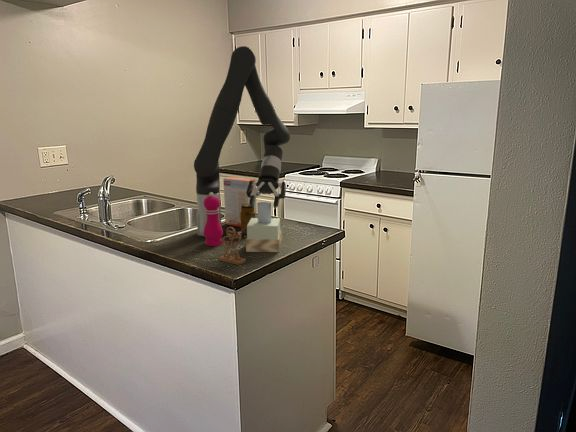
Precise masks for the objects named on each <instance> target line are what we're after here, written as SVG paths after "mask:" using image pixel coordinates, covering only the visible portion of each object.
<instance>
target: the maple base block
mask: <svg viewBox="0 0 576 432" xmlns="http://www.w3.org/2000/svg"><path fill="white" fill-rule="evenodd" d="M282 234H283V231H282V229H280V234H279V237H278V240H270V239H247V237H245V252H247V253H250V252H252V253H253V252H254V253H256V252H257V253H280V251H281V247H282V242H283V235H282Z"/></svg>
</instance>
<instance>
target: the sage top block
mask: <svg viewBox="0 0 576 432" xmlns="http://www.w3.org/2000/svg"><path fill="white" fill-rule="evenodd" d="M271 221H272V222H271V223H268V224H261V223H258V217H257V218H251V220H250V221H249V223H248V225H247V237H246V238H247V239H270V240H278V237H279V234H280V230H281V218H280V217H277V218H275V217H271Z"/></svg>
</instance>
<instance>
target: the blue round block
mask: <svg viewBox="0 0 576 432" xmlns="http://www.w3.org/2000/svg"><path fill="white" fill-rule="evenodd" d="M256 206H257V218H258V223H261V224H268V223H271V222H272V221H271V218H272V202H269V201H260V202H256Z"/></svg>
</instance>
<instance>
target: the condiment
mask: <svg viewBox="0 0 576 432" xmlns="http://www.w3.org/2000/svg"><path fill="white" fill-rule="evenodd" d="M241 210H242V211H241V227H240V231H236V234H238V233H239V234H241V237H242V236H243V237H244V238H247V225H248V223H249V221H250V220H251V218H255V217H256V216H255V211H254V207H251V206H250V204H243V205H242V206H241Z"/></svg>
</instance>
